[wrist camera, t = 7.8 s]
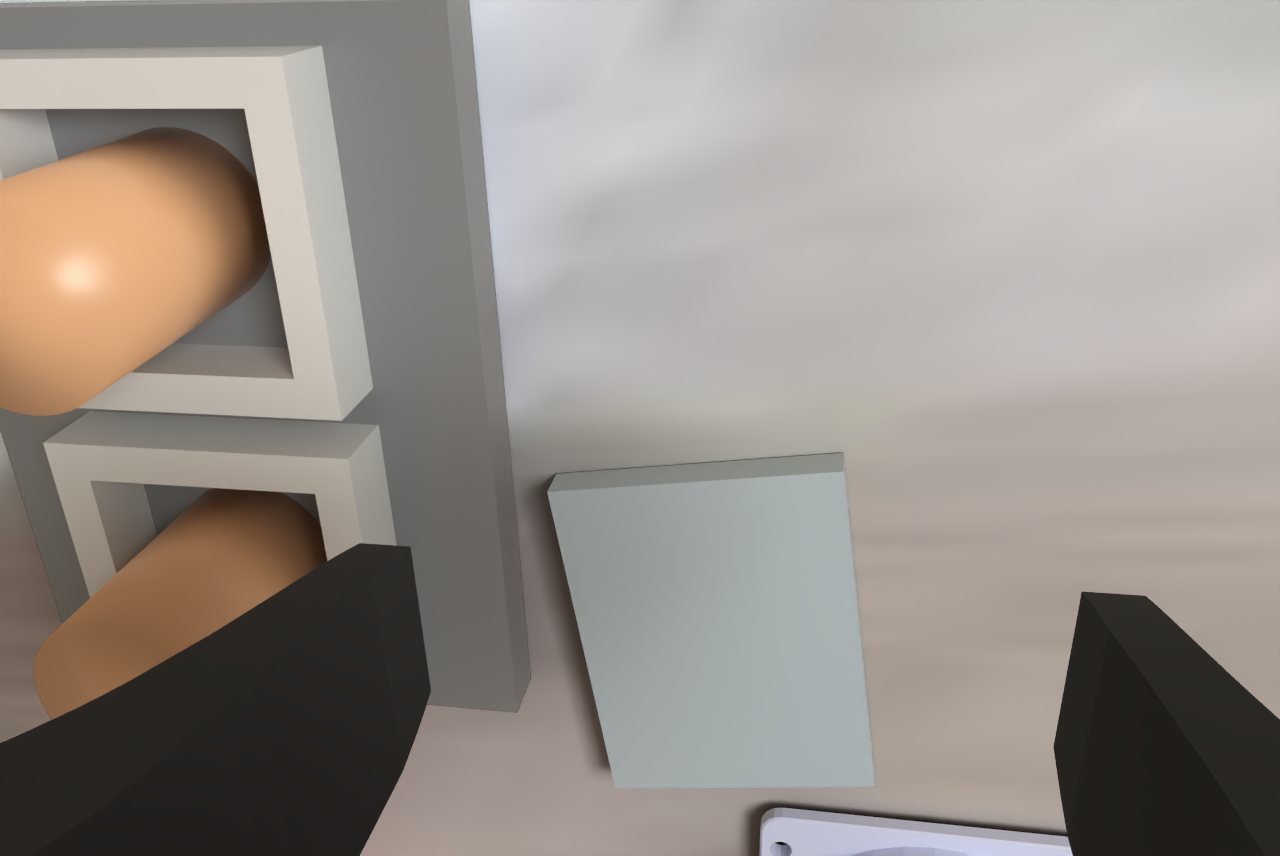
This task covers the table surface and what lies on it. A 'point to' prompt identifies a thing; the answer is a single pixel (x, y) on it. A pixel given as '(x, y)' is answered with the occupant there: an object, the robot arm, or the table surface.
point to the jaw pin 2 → (179, 592)
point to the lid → (720, 621)
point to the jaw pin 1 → (119, 261)
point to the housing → (296, 303)
